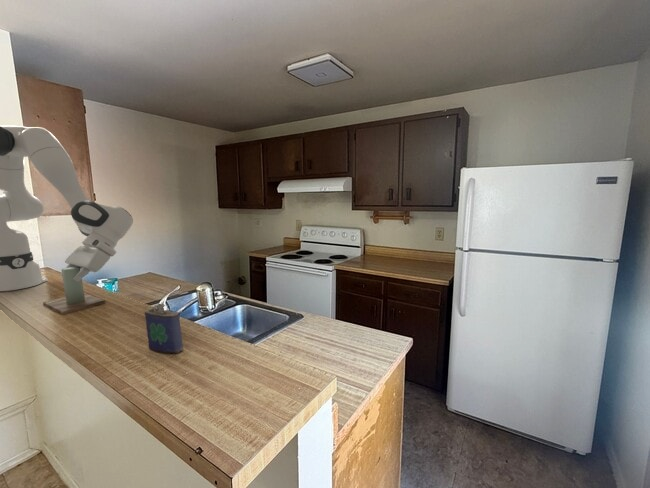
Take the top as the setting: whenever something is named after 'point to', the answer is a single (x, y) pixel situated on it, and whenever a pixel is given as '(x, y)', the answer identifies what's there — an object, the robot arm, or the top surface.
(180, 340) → the flask
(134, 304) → the top surface
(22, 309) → the top surface
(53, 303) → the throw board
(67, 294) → the green rectangular block
